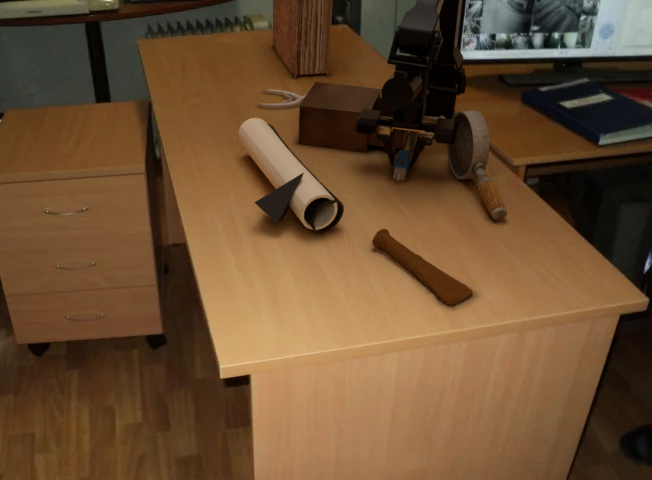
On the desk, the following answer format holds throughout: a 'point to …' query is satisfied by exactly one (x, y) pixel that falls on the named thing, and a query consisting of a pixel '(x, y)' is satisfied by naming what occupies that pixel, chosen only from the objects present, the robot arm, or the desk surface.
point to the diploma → (288, 180)
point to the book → (303, 35)
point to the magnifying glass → (474, 158)
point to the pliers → (285, 103)
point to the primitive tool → (423, 269)
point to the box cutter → (402, 165)
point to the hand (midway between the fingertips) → (401, 166)
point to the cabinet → (335, 115)
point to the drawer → (399, 134)
